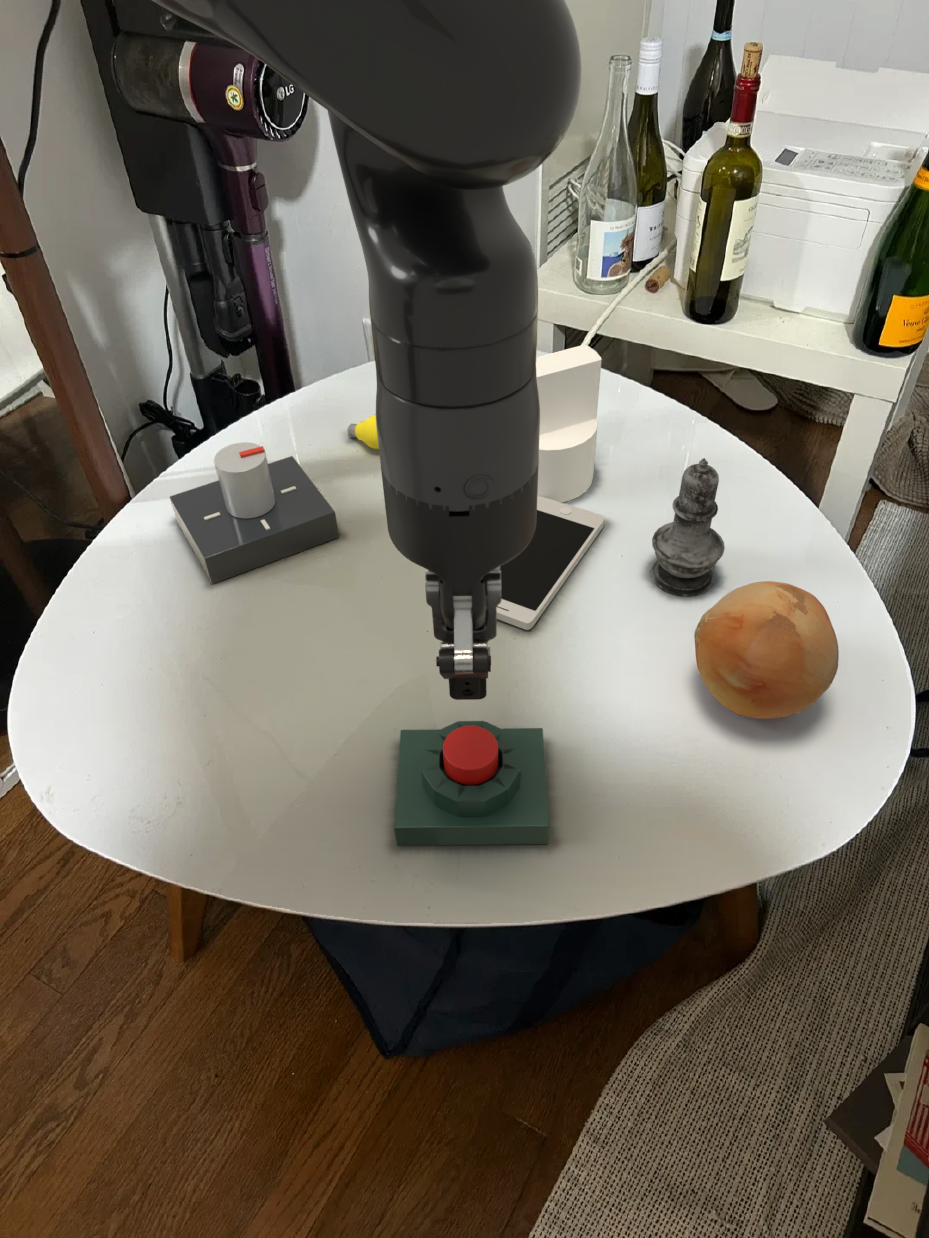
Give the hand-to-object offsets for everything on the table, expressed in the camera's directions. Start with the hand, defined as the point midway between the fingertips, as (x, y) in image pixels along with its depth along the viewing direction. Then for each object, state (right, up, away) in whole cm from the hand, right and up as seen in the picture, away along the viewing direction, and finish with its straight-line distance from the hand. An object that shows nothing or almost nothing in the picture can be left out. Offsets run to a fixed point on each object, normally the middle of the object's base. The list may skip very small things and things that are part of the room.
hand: (468, 690), depth 56 cm
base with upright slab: (+8, +18, +34) cm, 39 cm away
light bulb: (-10, +22, +38) cm, 45 cm away
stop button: (0, -5, +5) cm, 7 cm away
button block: (0, -8, +8) cm, 11 cm away
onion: (+21, -1, +14) cm, 25 cm away
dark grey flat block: (-19, +13, +29) cm, 37 cm away
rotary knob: (-19, +15, +27) cm, 36 cm away
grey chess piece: (+18, +8, +23) cm, 30 cm away
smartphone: (+6, +9, +24) cm, 27 cm away
